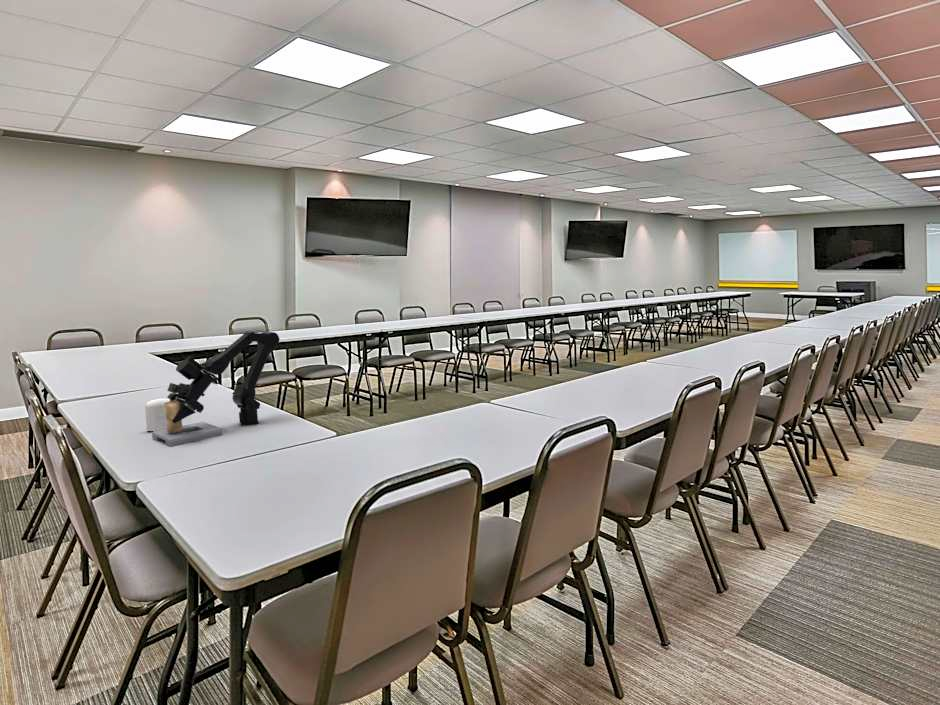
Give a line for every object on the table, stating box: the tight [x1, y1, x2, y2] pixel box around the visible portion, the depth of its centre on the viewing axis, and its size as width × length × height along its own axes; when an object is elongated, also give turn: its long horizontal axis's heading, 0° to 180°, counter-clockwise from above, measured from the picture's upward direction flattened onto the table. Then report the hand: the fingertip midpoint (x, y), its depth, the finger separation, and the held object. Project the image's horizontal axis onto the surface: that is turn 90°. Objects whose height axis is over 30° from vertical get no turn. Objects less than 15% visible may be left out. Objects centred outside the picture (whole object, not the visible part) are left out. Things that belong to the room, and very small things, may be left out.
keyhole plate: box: [151, 421, 224, 447], centre depth 217 cm, size 19×16×2 cm
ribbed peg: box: [165, 401, 183, 434], centre depth 213 cm, size 5×5×14 cm
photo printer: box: [144, 398, 170, 432], centre depth 227 cm, size 10×4×12 cm, turn 123°
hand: (170, 421), depth 212 cm, fingers closed on ribbed peg, 5 cm apart
